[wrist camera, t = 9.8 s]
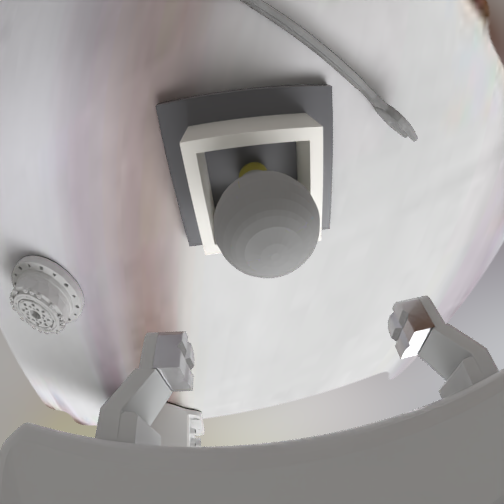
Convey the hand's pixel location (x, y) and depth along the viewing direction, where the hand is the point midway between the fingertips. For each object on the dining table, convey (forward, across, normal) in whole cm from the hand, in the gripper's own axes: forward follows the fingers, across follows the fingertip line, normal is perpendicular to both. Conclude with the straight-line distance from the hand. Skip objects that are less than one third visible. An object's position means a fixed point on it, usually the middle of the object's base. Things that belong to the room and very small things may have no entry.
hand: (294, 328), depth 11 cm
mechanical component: (+15, +25, +9) cm, 31 cm away
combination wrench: (+15, -4, -10) cm, 18 cm away
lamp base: (+14, 0, -1) cm, 15 cm away
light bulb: (+14, +1, -1) cm, 14 cm away
